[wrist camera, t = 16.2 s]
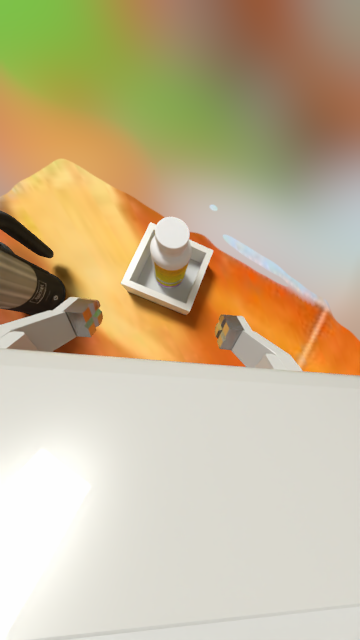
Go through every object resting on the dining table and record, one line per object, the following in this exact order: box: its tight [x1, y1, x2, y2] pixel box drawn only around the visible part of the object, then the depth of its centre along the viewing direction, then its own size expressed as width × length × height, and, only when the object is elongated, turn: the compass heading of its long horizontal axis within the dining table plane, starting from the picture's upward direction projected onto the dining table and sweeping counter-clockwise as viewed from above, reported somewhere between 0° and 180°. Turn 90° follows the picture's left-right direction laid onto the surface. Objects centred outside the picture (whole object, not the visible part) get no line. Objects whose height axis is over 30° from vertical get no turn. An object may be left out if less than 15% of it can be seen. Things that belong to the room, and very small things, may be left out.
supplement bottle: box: [150, 217, 192, 288], centre depth 24 cm, size 7×7×13 cm
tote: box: [121, 222, 213, 315], centre depth 29 cm, size 14×14×5 cm
